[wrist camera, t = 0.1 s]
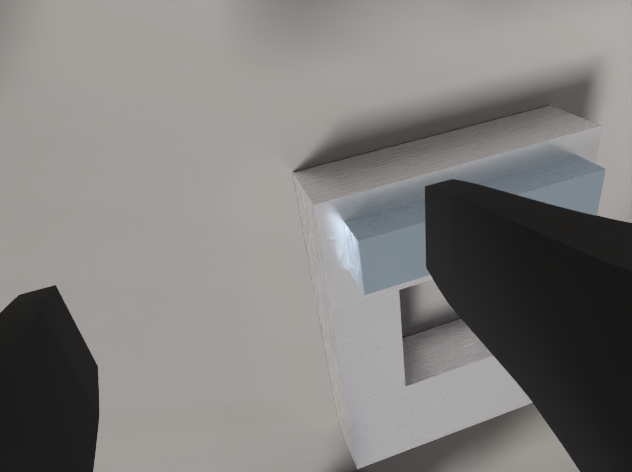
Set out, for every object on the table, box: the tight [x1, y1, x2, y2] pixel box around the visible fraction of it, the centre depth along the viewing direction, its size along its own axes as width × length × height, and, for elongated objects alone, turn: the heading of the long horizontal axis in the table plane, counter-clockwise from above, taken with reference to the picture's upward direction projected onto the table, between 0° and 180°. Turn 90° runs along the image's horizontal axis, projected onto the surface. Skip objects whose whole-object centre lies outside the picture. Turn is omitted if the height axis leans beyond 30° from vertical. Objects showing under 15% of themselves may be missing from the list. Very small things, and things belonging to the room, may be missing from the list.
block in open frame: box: [293, 106, 605, 469], centre depth 24 cm, size 16×12×4 cm
